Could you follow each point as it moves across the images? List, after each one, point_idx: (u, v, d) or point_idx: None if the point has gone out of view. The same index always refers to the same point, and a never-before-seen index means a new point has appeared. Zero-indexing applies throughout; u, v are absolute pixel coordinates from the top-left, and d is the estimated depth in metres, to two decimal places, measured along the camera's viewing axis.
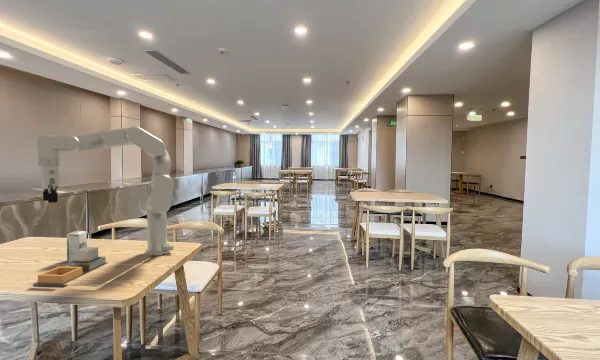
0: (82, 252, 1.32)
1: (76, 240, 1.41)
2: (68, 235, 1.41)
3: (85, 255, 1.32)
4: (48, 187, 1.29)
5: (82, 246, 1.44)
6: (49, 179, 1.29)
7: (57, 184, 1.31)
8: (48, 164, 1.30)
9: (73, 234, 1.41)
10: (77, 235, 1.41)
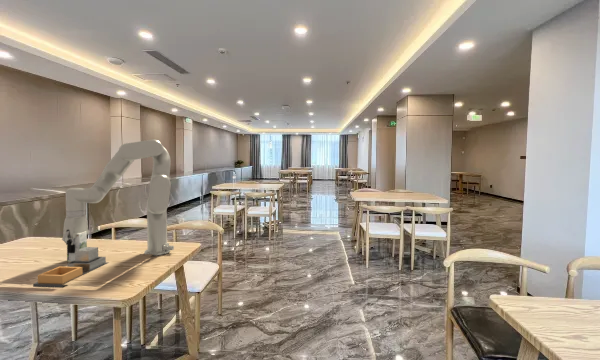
0: (82, 252, 1.32)
1: (76, 240, 1.41)
2: None
3: (85, 255, 1.32)
4: None
5: (82, 246, 1.44)
6: None
7: None
8: None
9: None
10: (77, 235, 1.41)
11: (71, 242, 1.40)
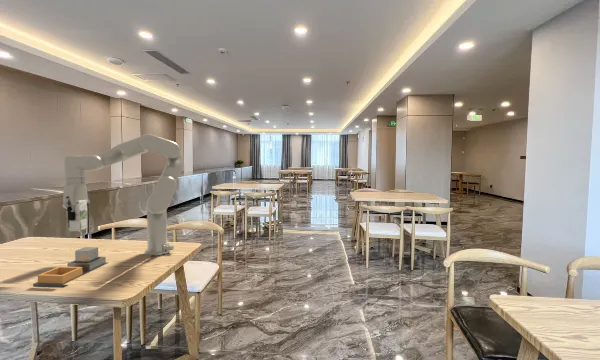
0: (82, 252, 1.32)
1: (77, 207, 1.41)
2: None
3: (85, 255, 1.32)
4: None
5: (82, 214, 1.43)
6: None
7: None
8: None
9: None
10: (77, 202, 1.41)
11: (71, 209, 1.39)
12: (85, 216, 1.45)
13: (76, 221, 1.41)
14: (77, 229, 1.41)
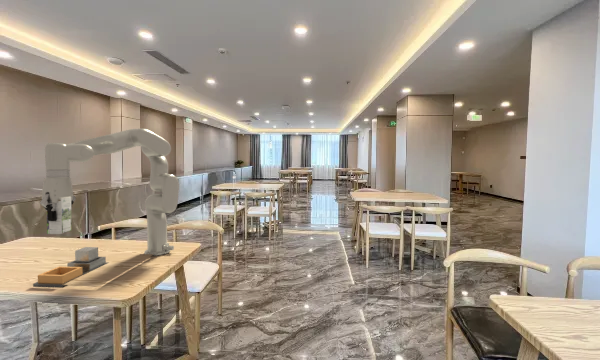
0: (82, 252, 1.32)
1: (58, 206, 1.17)
2: None
3: (85, 255, 1.32)
4: None
5: (65, 213, 1.19)
6: None
7: None
8: None
9: None
10: (59, 199, 1.17)
11: (51, 207, 1.15)
12: (69, 216, 1.21)
13: (57, 222, 1.17)
14: (58, 232, 1.18)
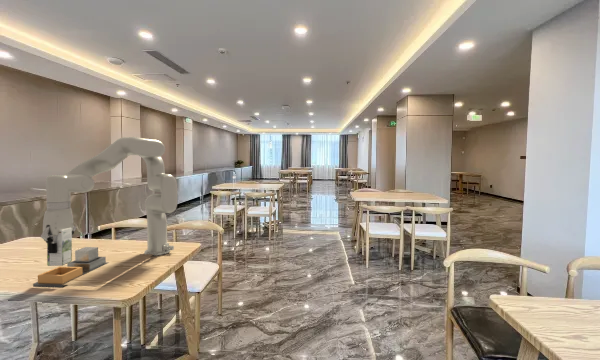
0: (82, 252, 1.32)
1: (59, 238, 1.17)
2: None
3: (85, 255, 1.32)
4: None
5: (66, 245, 1.20)
6: None
7: None
8: None
9: None
10: (59, 232, 1.17)
11: (52, 240, 1.16)
12: (69, 247, 1.22)
13: (58, 254, 1.18)
14: (58, 264, 1.18)
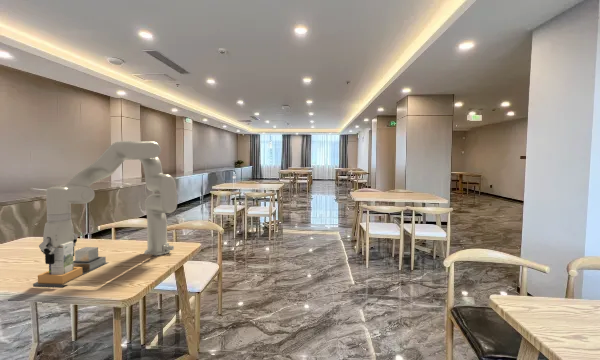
0: (82, 252, 1.32)
1: (60, 252, 1.18)
2: None
3: (85, 255, 1.32)
4: None
5: (67, 259, 1.21)
6: None
7: None
8: None
9: None
10: (61, 246, 1.18)
11: (50, 251, 1.15)
12: (71, 261, 1.23)
13: (59, 269, 1.18)
14: None
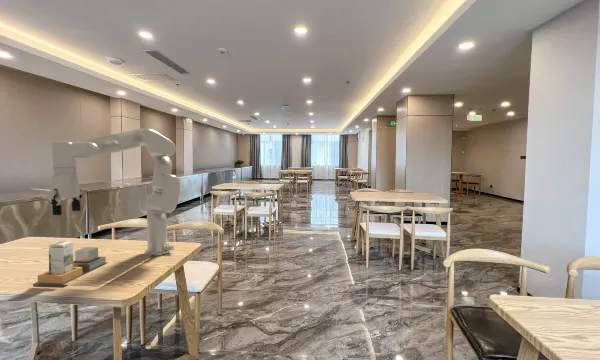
0: (82, 252, 1.32)
1: (60, 252, 1.18)
2: (50, 246, 1.18)
3: (85, 255, 1.32)
4: None
5: (67, 259, 1.21)
6: None
7: None
8: None
9: (56, 245, 1.18)
10: (61, 246, 1.18)
11: (57, 202, 1.18)
12: (71, 261, 1.23)
13: (59, 269, 1.18)
14: None
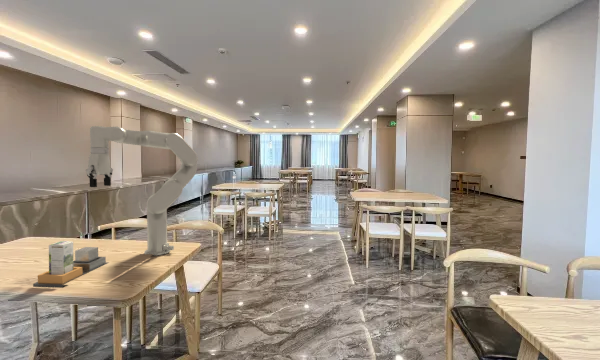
0: (82, 252, 1.32)
1: (60, 252, 1.18)
2: (50, 246, 1.18)
3: (85, 255, 1.32)
4: None
5: (67, 259, 1.21)
6: None
7: None
8: None
9: (56, 245, 1.18)
10: (61, 246, 1.18)
11: (94, 176, 1.42)
12: (71, 261, 1.23)
13: (59, 269, 1.18)
14: None
